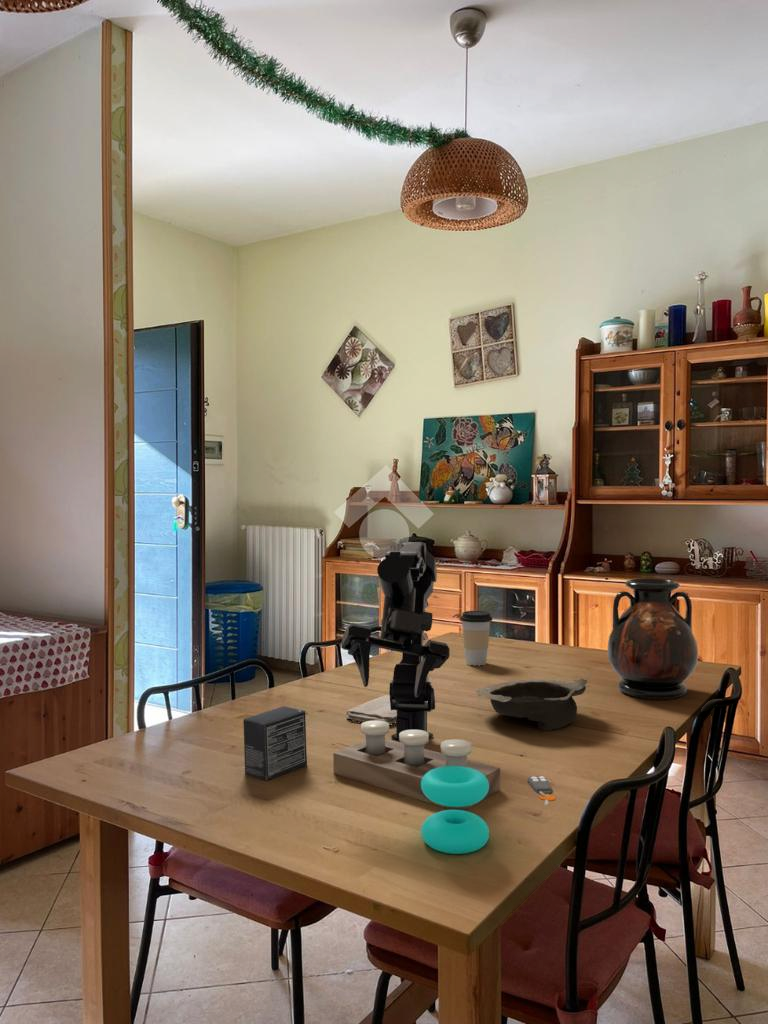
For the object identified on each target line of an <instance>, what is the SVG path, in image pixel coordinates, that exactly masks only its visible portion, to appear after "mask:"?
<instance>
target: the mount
mask: <svg viewBox="0 0 768 1024" xmlns="http://www.w3.org/2000/svg"><path fill="white" fill-rule="evenodd" d="M332 760H333V774H334V775H338V776H341V777H344V778H347V779H351V780H353V781H357V782H360V783H363V784H367V785H369V786H373V787H376V788H380V789H383V790H386V791H390V792H392V793H396V794H399V795H403V796H406V797H409V798H413V799H416V800H420V801H422V802H426V803H429V804H432V805H435V806H438V807H441V808H444V809H447V810H463V811H467V810H468V809H470V808H472V807H474V806H475V805H476V804H478V803H480V802H481V801H484V800H485V799H487V798H488V797H490V796H492V795H494V794H495V793H497V792H499V791H500V790H501V768H500V767H498V766H493V765H489V764H487V763H481V762H479V761H473V760H470V759H467V767H469V768H472V769H475V770H477V771H479V772H481V773H482V774H483V775H485V777H486V778H487V780H488V783H489V790H488V793H487V795H486V796H485V797H484V798H483V799H482V800H481V801H479V802H478V803H475V804H473V805H469V806H464V807H449V806H443V805H440V804H437V803H435V802H433V801H431V800H430V799H428V798H427V797H426V796H425V795H424V793H423V791H422V788H421V781H422V778H423V776H424V775H425V774H426V773H427V772H429V771H430V770H432V769H435V768H438V767H443V766H446V755H444V754H443V753H441V752H439V751H436V750H435V751H434V750H430V749H427V748H424V764H423V765H421V766H417V767H414V766H410V765H407V764H404V744H402V743H400V742H399V741H395V740H391V739H388V738H385V753H384V754H381V755H379V756H374V755H370V754H367V753H366V739H365V740H363V741H360V742H358V743H355V744H353V745H350V746H347V747H345V748H342V749H340V750H337V751H335V752H333V759H332Z"/></svg>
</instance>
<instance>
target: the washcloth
mask: <svg viewBox="0 0 768 1024" xmlns="http://www.w3.org/2000/svg"><path fill="white" fill-rule="evenodd" d="M425 702H427V701H425ZM346 715H347V717H346V719H351V720H353V721H352V722H354V721H358V722H357V723H359V722H366V721H374V720H378V721H385V722H387V723H389V725H391V724H392V723H394V724H396V723H395V722H396V718H397V710H391V708H390V694H387V695H386V694H385V695H381V696H379V697H378V698H377V697H376V698H374V699H371V700H369V701H367V702H364V703H362V704H360V705H357V706H355V707H353V708H350V709H348V710H347V711H346ZM351 720H350V721H351ZM392 725H393V724H392ZM392 725H391V726H392Z"/></svg>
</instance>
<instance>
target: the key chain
mask: <svg viewBox="0 0 768 1024" xmlns="http://www.w3.org/2000/svg"><path fill="white" fill-rule="evenodd" d="M527 783H528V784H529V786H530V787H531V788H532V789H533V791H534V792H535V793H536V794H537V793H538V794H539V795H540V796H539V799H541V800H542V801H544V804H543V805H544V806H546V805H549V802H551V801H555V800H556V797H555V796H553V795H551V793H552V791H553V790H552V786H551V784H550V782H549V781H548V779H547V778H546V777H545V776H541V775H538V776H537V775H534V776H529V777H527Z"/></svg>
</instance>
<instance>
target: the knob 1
mask: <svg viewBox="0 0 768 1024" xmlns="http://www.w3.org/2000/svg"><path fill="white" fill-rule="evenodd" d="M360 732H361V734H363V735H364V736H365V740H366V753H367V754H370V755H374V756H379V755H381V754H384V753H385V739H386V735H387V734H388V733H389V732H390V726H389V723H387V722H385V721H378V720H374V721H366V722H363V723H360Z"/></svg>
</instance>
